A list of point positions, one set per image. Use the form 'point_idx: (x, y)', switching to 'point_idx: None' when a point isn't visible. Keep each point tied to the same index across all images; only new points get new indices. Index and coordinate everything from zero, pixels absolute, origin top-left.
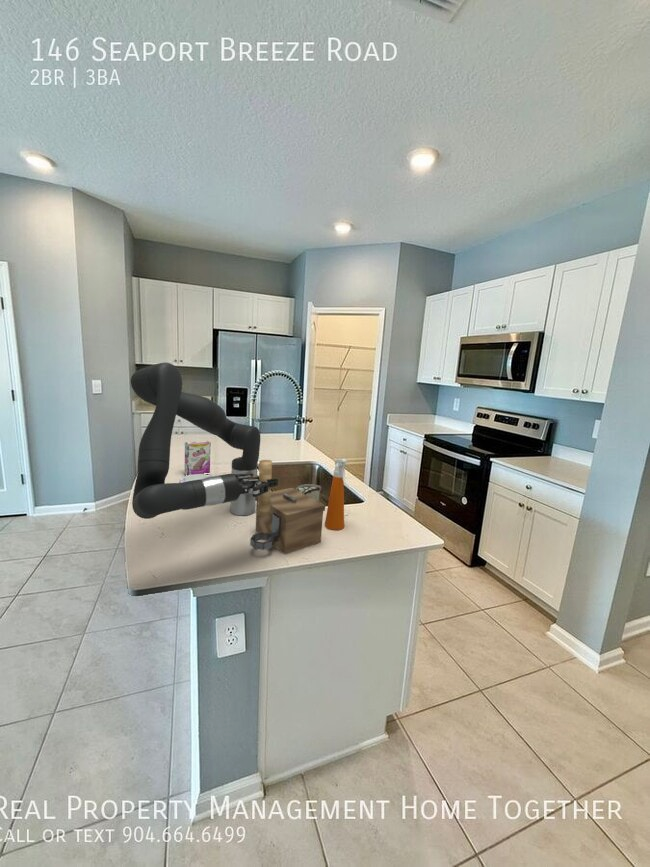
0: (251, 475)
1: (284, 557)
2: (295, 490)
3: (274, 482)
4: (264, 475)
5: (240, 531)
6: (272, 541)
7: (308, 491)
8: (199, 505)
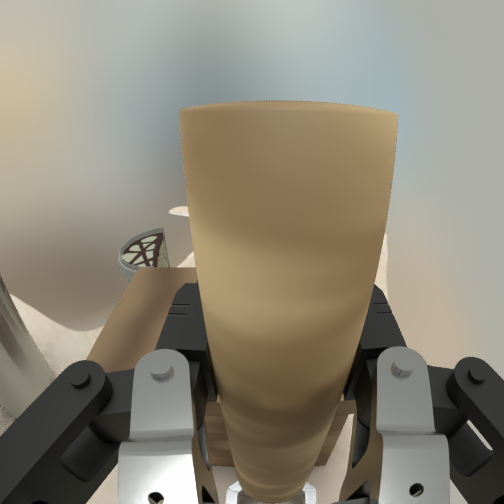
0: (99, 398)
1: (340, 472)
2: (164, 270)
3: (386, 311)
4: (364, 318)
5: (107, 485)
6: (309, 485)
7: (157, 253)
8: None
